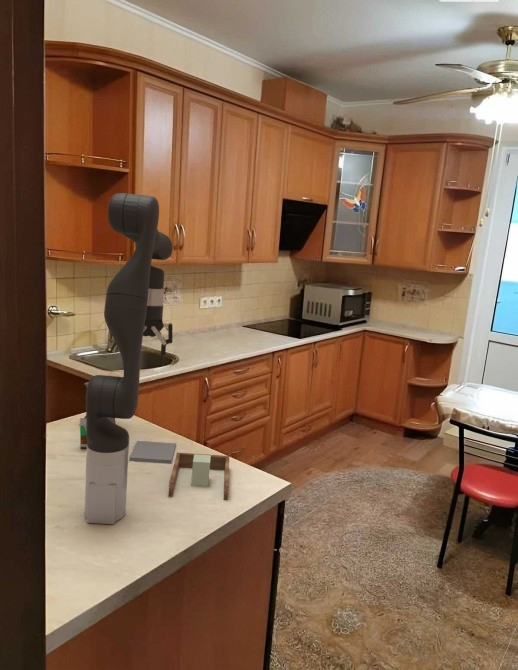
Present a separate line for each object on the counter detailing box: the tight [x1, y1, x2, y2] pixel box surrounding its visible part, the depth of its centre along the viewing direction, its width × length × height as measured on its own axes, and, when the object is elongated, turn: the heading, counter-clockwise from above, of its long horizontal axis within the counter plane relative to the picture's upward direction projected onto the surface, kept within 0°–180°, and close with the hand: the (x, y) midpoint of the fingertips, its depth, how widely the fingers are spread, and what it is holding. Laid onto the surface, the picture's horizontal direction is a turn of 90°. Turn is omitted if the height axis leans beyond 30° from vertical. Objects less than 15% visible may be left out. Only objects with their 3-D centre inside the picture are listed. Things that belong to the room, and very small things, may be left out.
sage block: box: [190, 453, 212, 488], centre depth 139 cm, size 4×4×7 cm
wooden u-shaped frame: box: [167, 451, 230, 501], centre depth 139 cm, size 18×15×4 cm
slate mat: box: [128, 440, 177, 464], centre depth 154 cm, size 12×12×1 cm
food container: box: [79, 415, 108, 450], centre depth 156 cm, size 12×6×10 cm, turn 179°
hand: (147, 355), depth 156 cm, fingers open, 8 cm apart
